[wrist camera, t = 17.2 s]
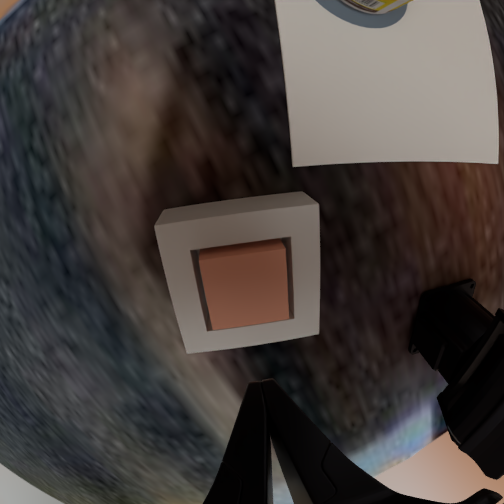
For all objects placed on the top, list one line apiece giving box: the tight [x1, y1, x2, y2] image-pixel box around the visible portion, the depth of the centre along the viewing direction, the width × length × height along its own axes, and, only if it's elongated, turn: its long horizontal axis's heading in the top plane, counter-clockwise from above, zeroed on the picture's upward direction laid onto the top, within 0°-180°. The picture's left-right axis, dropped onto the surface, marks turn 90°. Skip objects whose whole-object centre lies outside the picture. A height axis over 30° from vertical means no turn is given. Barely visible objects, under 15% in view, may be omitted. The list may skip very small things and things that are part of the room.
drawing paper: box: [274, 0, 499, 167], centre depth 14 cm, size 18×17×1 cm
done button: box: [199, 238, 289, 330], centre depth 17 cm, size 4×4×2 cm
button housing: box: [154, 191, 320, 354], centre depth 17 cm, size 8×8×3 cm
